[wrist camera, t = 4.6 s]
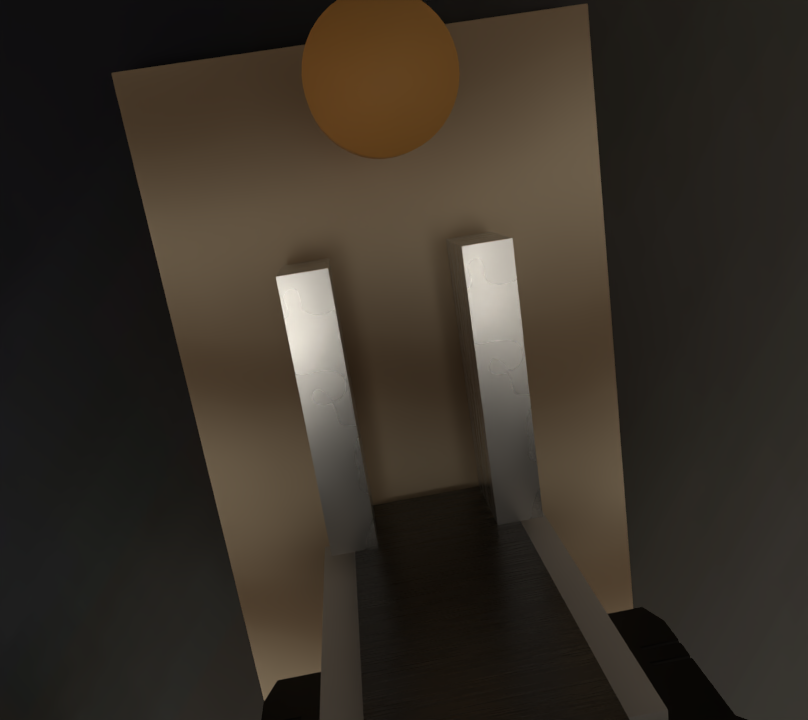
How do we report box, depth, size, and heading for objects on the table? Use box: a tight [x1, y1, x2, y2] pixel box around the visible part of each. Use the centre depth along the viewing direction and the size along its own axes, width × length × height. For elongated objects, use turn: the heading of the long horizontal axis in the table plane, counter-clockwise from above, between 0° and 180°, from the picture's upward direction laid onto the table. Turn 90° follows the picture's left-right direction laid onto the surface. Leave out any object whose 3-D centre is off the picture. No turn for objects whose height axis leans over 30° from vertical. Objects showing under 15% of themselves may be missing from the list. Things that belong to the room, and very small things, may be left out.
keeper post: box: [302, 0, 460, 159], centre depth 12 cm, size 2×2×5 cm
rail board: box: [111, 3, 633, 701], centre depth 18 cm, size 26×10×2 cm, turn 9°
